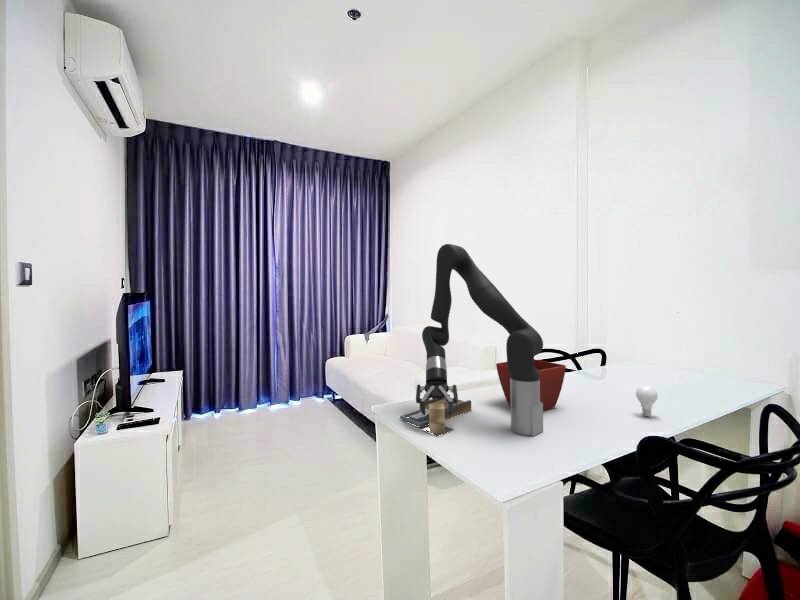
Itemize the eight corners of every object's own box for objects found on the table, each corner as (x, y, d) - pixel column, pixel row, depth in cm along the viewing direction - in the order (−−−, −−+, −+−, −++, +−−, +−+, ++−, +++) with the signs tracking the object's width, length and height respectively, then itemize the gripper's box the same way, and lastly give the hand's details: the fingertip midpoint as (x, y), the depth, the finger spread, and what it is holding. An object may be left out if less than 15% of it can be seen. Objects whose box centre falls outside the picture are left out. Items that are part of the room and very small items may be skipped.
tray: (440, 421, 131) (440, 416, 130) (420, 428, 124) (420, 423, 124) (420, 413, 139) (420, 409, 139) (400, 419, 133) (399, 415, 133)
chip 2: (433, 414, 133) (432, 410, 133) (426, 420, 131) (425, 416, 130) (426, 411, 136) (425, 407, 136) (418, 417, 134) (417, 413, 133)
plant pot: (495, 404, 148) (494, 362, 148) (529, 396, 157) (528, 357, 156) (532, 418, 131) (531, 371, 131) (568, 409, 140) (567, 365, 139)
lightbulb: (648, 420, 126) (647, 389, 125) (631, 414, 132) (631, 384, 131) (662, 418, 127) (661, 387, 127) (645, 412, 133) (645, 383, 133)
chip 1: (416, 418, 128) (416, 423, 128) (424, 416, 131) (424, 420, 131) (408, 416, 131) (409, 420, 131) (417, 413, 134) (417, 417, 134)
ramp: (471, 410, 140) (471, 400, 140) (442, 421, 130) (442, 410, 130) (448, 403, 150) (448, 394, 150) (419, 413, 140) (419, 402, 139)
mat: (454, 430, 122) (454, 429, 122) (437, 436, 117) (437, 435, 117) (437, 423, 128) (437, 422, 128) (420, 429, 123) (420, 428, 123)
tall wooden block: (444, 426, 124) (444, 403, 124) (445, 433, 118) (444, 409, 118) (430, 426, 125) (429, 403, 125) (429, 433, 119) (429, 409, 119)
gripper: (416, 366, 130) (414, 408, 119) (456, 366, 129) (459, 409, 117) (417, 377, 135) (416, 419, 124) (455, 377, 134) (458, 419, 123)
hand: (437, 414), depth 121 cm, fingers open, 8 cm apart
